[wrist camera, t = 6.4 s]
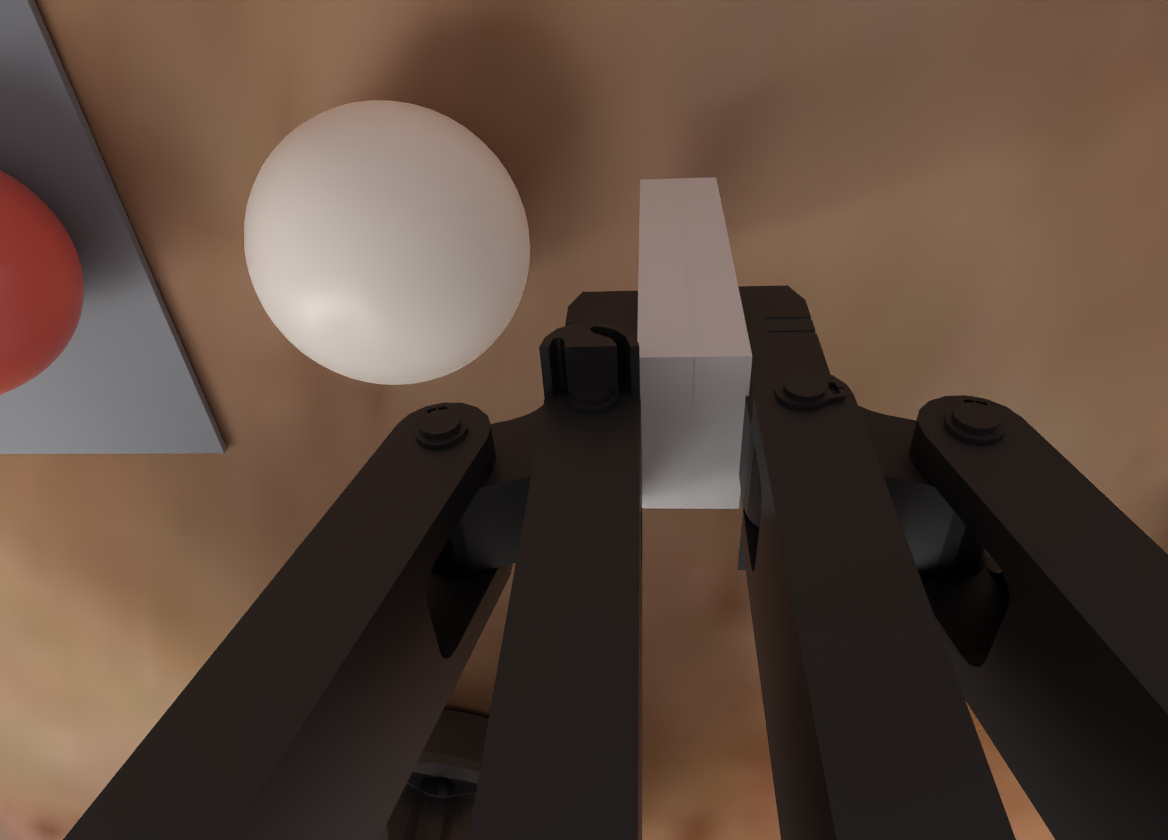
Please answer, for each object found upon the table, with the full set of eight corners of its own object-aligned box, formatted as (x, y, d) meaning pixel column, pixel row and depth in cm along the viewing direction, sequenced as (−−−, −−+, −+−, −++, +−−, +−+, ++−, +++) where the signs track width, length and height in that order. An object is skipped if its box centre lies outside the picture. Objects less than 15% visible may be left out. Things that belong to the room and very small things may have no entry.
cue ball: (188, 386, 13) (217, 260, 17) (478, 469, 16) (440, 342, 20) (306, 76, 11) (305, 20, 15) (616, 232, 14) (541, 147, 18)
